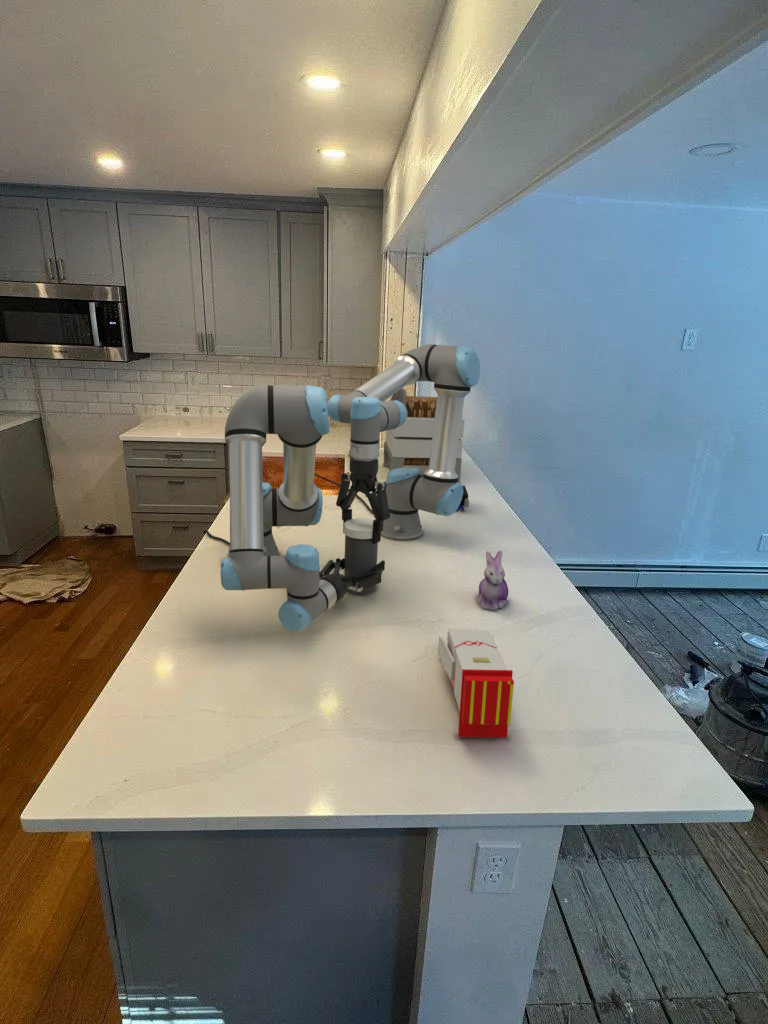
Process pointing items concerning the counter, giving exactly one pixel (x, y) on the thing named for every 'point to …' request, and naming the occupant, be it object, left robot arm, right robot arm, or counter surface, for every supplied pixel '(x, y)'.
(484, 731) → the toy
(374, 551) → the jar
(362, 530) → the lid
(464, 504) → the figurine character
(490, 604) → the figurine
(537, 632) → the counter surface
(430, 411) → the grey and brown box
